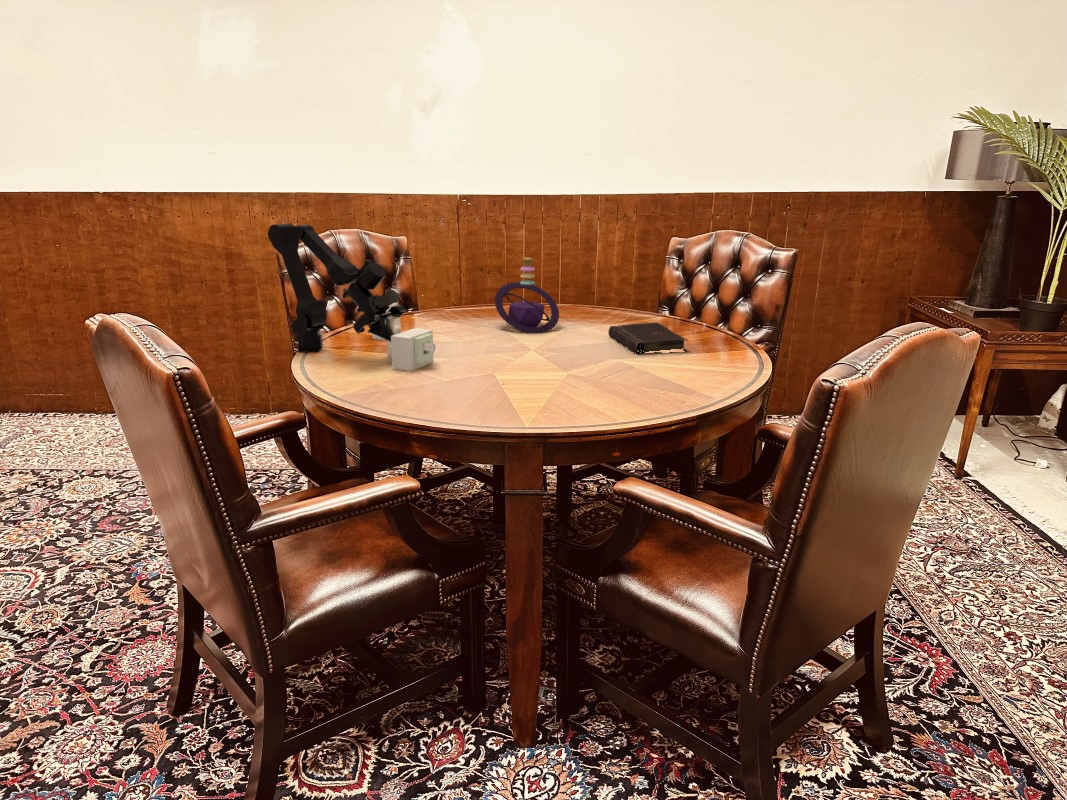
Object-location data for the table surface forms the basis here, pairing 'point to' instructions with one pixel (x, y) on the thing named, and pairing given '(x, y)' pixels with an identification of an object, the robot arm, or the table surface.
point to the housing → (407, 349)
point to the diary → (646, 337)
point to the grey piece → (395, 328)
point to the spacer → (419, 348)
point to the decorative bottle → (526, 305)
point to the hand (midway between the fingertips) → (398, 340)
